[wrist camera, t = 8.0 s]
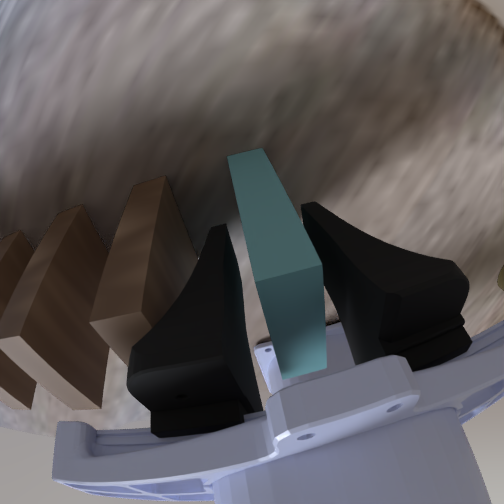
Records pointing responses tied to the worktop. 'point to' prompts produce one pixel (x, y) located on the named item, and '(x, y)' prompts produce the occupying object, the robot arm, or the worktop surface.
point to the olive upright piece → (501, 279)
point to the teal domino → (281, 265)
